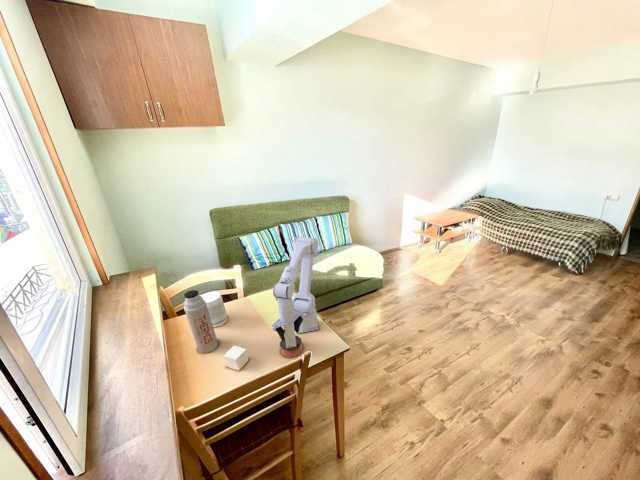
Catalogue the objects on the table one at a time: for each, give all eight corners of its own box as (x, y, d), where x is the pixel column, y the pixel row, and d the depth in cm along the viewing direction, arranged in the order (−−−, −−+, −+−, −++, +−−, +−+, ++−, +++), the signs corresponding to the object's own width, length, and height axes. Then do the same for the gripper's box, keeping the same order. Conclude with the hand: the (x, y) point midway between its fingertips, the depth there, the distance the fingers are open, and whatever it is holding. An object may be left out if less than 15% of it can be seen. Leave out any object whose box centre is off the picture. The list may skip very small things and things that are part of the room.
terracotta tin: (300, 340, 125) (300, 333, 123) (304, 354, 117) (303, 347, 115) (280, 344, 123) (279, 337, 121) (281, 359, 115) (280, 352, 113)
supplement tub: (231, 316, 140) (225, 292, 133) (220, 328, 132) (213, 303, 125) (214, 314, 142) (207, 290, 135) (202, 326, 134) (194, 301, 127)
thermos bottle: (218, 348, 121) (202, 295, 108) (198, 355, 117) (179, 301, 104) (217, 337, 127) (201, 285, 114) (197, 343, 124) (179, 290, 111)
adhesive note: (238, 370, 110) (235, 359, 107) (226, 366, 112) (223, 355, 109) (248, 359, 115) (246, 348, 112) (236, 355, 117) (234, 345, 114)
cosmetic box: (296, 346, 116) (294, 324, 111) (286, 348, 115) (283, 326, 109) (295, 336, 121) (292, 315, 116) (285, 338, 120) (281, 316, 115)
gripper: (295, 297, 117) (298, 323, 123) (264, 313, 108) (269, 339, 114) (305, 304, 113) (308, 330, 119) (274, 321, 104) (279, 348, 110)
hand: (289, 335), depth 116 cm, fingers open, 6 cm apart
